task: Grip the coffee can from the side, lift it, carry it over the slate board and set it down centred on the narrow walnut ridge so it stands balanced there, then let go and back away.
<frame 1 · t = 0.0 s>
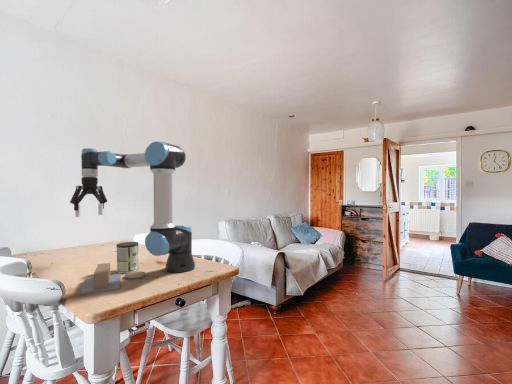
hand: (89, 215, 147), 28 cm above the table, tool pointing down, fingers open, 13 cm apart
fulcrum board: (102, 284, 119), on the table
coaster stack: (135, 277, 129), on the table
coffee can: (127, 270, 139), on the table
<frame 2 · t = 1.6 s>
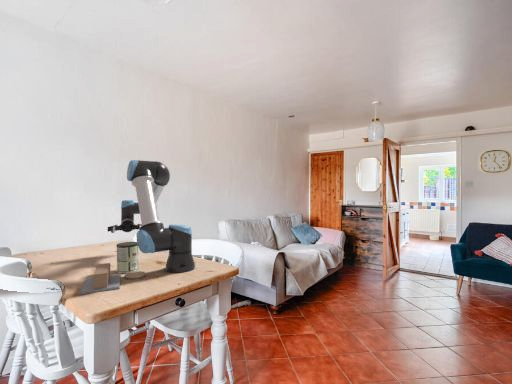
hand: (127, 229, 148), 20 cm above the table, tool horizontal, fingers open, 13 cm apart
nothing on the table moved.
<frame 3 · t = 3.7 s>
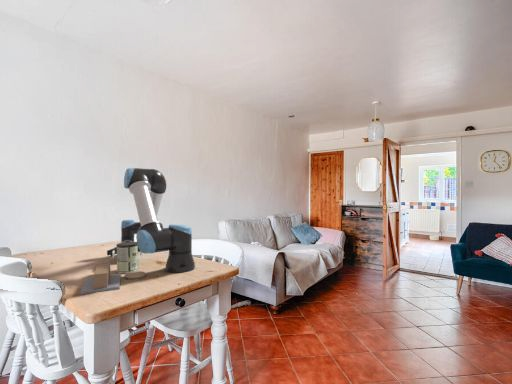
hand: (127, 254, 145), 7 cm above the table, tool horizontal, fingers open, 13 cm apart
nothing on the table moved.
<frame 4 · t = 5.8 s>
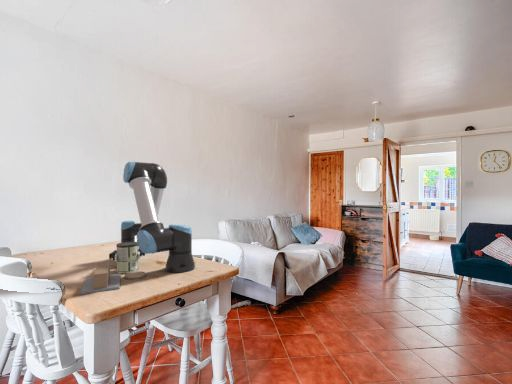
hand: (127, 257, 136), 8 cm above the table, tool horizontal, fingers closed on coffee can, 10 cm apart
coffee can: (127, 270, 139), on the table, touching gripper
everything else where it was.
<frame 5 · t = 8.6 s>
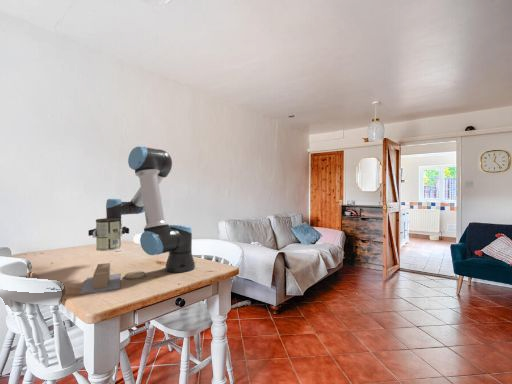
hand: (107, 234, 123), 22 cm above the table, tool horizontal, fingers closed on coffee can, 10 cm apart
coffee can: (108, 249, 126), point 14 cm above the table, touching gripper
everything else where it was.
when the fingers open (15 cm above the table, at t = 11.2 s): coffee can stays where it is, resting on fulcrum board.
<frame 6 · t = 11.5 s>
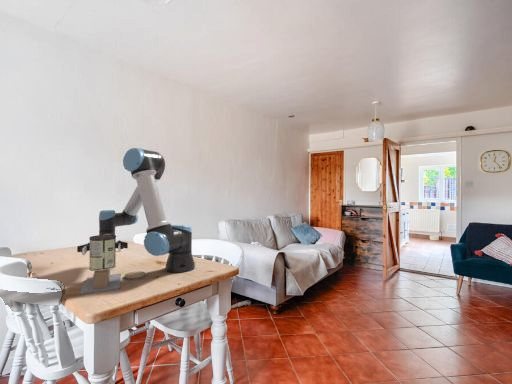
hand: (101, 250, 116), 15 cm above the table, tool horizontal, fingers open, 13 cm apart
coffee can: (102, 268, 119), point 7 cm above the table, touching fulcrum board
everything else where it was.
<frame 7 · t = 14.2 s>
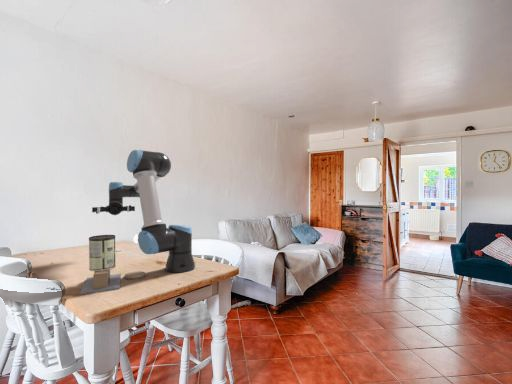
hand: (113, 209, 137), 32 cm above the table, tool horizontal, fingers open, 13 cm apart
nothing on the table moved.
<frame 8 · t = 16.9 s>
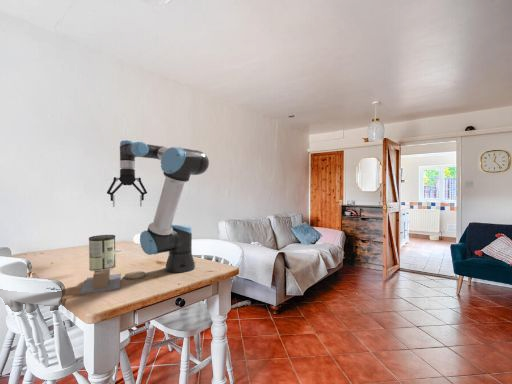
hand: (127, 206, 150), 33 cm above the table, tool pointing down, fingers open, 13 cm apart
nothing on the table moved.
at the end: coffee can inside the target area on the fulcrum board (0.1 cm from its centre), point 6.8 cm above the fulcrum board's base; coffee can tilted 0°; coffee can touching fulcrum board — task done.
